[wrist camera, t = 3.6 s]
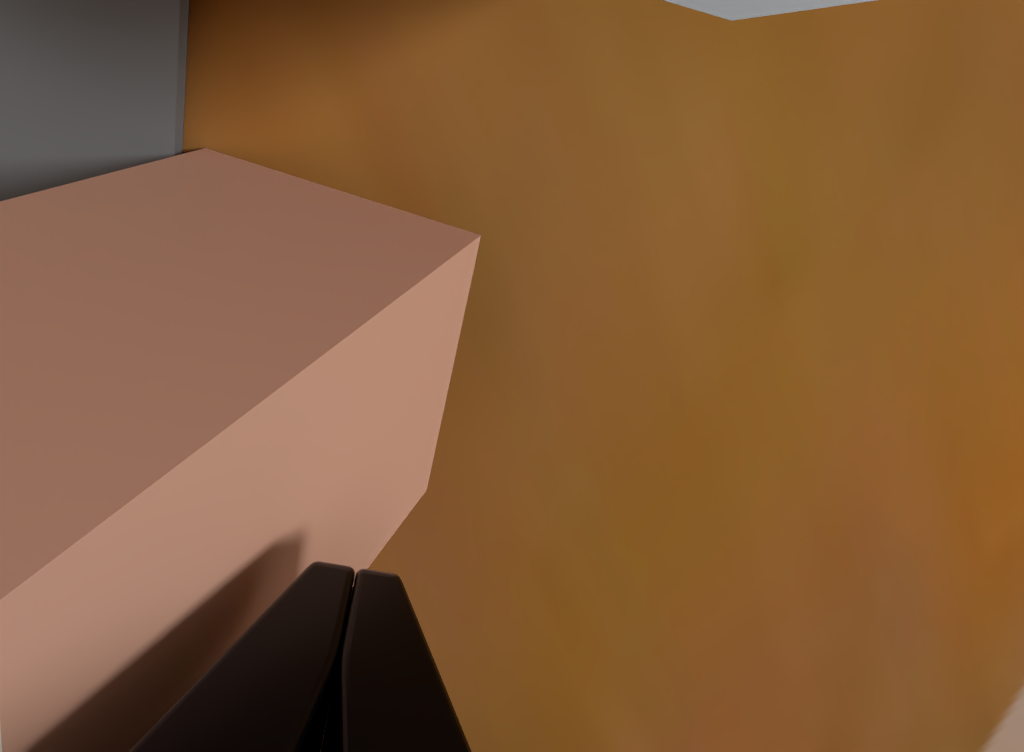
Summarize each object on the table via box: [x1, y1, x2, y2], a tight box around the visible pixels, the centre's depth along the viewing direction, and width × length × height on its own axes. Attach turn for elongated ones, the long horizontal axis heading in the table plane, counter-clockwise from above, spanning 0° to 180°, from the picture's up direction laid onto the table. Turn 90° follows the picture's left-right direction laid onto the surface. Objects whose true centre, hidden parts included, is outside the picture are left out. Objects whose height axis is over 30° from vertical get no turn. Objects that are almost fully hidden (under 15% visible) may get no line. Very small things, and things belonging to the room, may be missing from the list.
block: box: [0, 148, 481, 752], centre depth 10 cm, size 4×4×9 cm
